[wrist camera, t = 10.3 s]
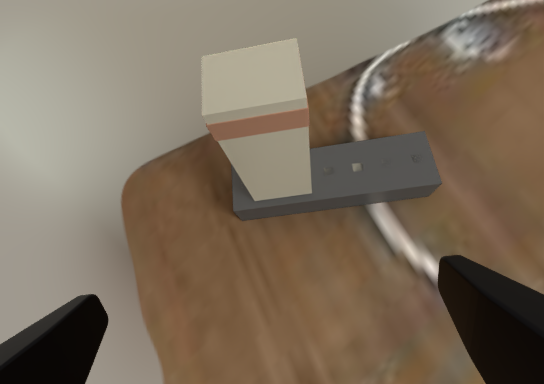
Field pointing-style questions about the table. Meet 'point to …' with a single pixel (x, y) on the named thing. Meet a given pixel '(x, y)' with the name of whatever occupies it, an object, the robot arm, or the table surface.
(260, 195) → the cream tall block
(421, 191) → the gray rectangular bar
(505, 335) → the robot arm
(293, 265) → the table surface
